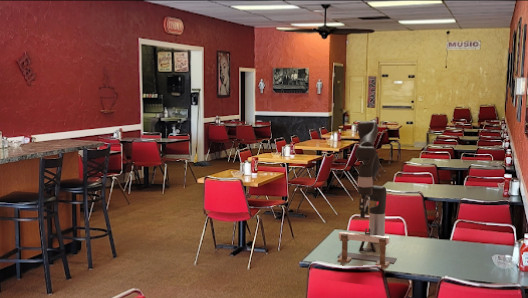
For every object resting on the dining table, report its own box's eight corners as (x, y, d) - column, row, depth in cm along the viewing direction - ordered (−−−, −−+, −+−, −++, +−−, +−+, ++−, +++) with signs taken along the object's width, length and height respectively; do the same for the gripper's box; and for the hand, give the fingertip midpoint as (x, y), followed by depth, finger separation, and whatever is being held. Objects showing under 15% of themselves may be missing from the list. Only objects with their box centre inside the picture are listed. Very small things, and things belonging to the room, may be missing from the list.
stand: (340, 258, 306) (340, 231, 304) (389, 264, 296) (390, 236, 294) (337, 261, 300) (337, 234, 298) (387, 267, 290) (387, 239, 289)
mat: (341, 252, 316) (341, 251, 316) (396, 259, 305) (396, 257, 305) (337, 257, 308) (337, 256, 308) (393, 263, 296) (393, 262, 296)
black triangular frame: (358, 251, 319) (359, 230, 318) (359, 248, 325) (360, 227, 324) (375, 252, 317) (375, 231, 316) (375, 249, 323) (376, 228, 322)
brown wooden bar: (340, 237, 303) (340, 231, 303) (389, 242, 293) (389, 236, 293) (338, 238, 300) (338, 233, 300) (388, 243, 290) (388, 238, 290)
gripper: (360, 182, 301) (360, 212, 303) (354, 186, 288) (354, 218, 290) (375, 183, 299) (374, 213, 300) (369, 187, 285) (368, 219, 287)
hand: (364, 216), depth 295 cm, fingers open, 8 cm apart
